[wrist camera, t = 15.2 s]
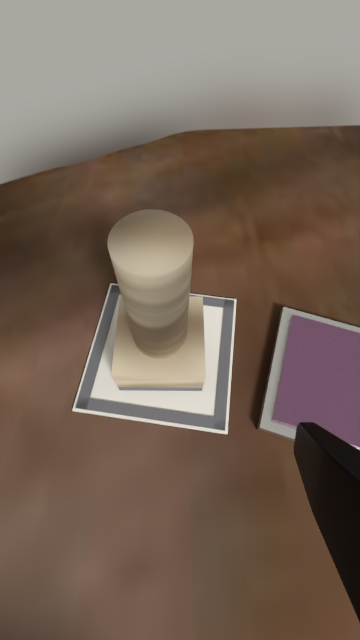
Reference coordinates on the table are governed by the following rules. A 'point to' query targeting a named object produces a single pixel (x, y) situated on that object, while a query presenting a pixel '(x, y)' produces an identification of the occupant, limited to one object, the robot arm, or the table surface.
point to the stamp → (156, 305)
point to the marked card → (163, 406)
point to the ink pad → (313, 377)
